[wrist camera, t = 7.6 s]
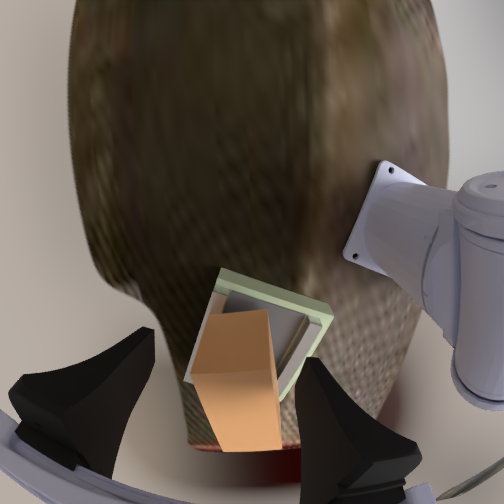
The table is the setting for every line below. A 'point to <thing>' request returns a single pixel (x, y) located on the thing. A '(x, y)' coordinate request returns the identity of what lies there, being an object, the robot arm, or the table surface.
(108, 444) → the robot arm
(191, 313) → the table surface
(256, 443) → the tan tapered column
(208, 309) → the green rimmed tray
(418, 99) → the table surface
